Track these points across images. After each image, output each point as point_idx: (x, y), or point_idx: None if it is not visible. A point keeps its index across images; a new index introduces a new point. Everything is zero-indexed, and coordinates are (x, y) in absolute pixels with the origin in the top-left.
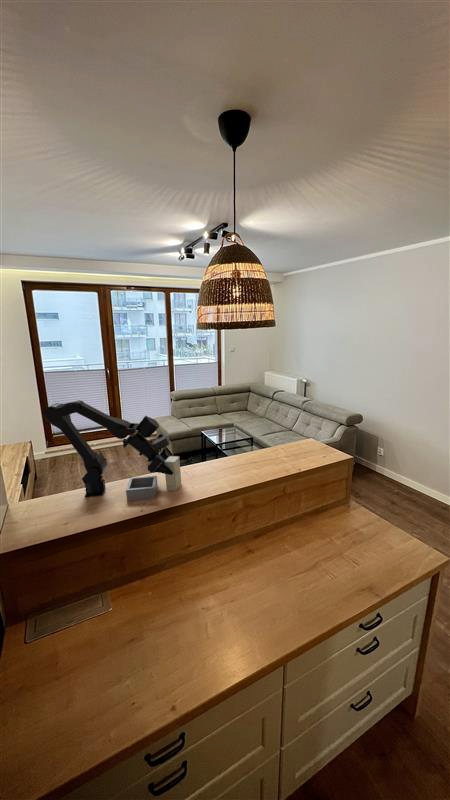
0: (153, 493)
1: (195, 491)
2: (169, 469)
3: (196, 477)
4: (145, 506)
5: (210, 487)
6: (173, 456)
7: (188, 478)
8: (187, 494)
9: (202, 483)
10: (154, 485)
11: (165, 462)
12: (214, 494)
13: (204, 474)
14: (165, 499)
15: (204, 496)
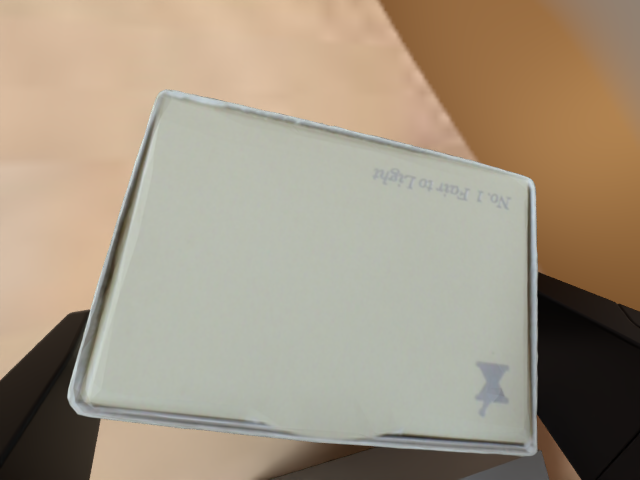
0: None
1: (345, 125)
2: (568, 284)
3: (77, 119)
4: (567, 461)
5: (285, 22)
6: (134, 264)
7: (90, 193)
8: None
9: (213, 72)
10: (498, 471)
11: (524, 412)
12: (382, 8)
13: (12, 46)
14: None
15: (410, 68)
